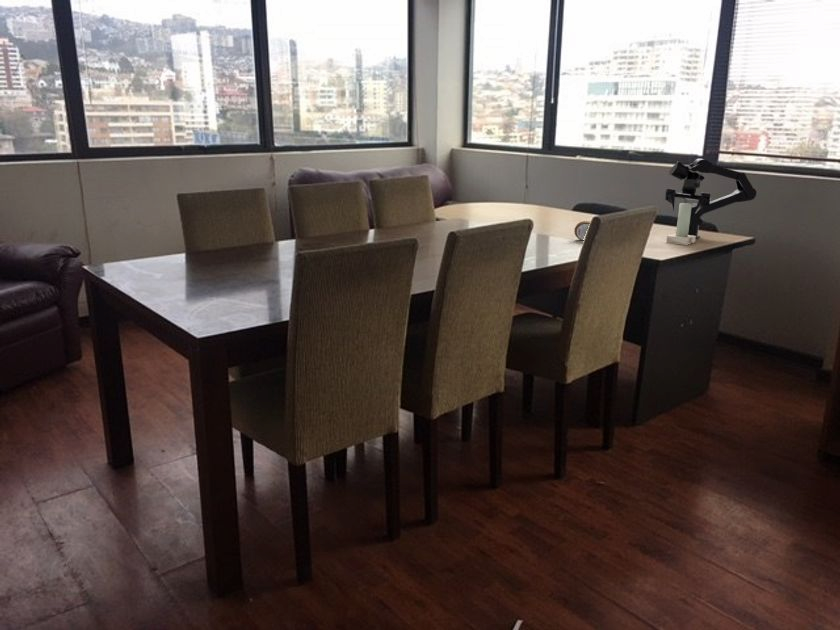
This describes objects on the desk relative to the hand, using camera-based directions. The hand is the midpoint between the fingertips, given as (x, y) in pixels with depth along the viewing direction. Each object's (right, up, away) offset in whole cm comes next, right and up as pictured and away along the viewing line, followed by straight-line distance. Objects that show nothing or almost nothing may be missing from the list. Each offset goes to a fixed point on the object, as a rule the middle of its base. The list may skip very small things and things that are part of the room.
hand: (683, 211), depth 302 cm
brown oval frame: (-41, -13, +1) cm, 43 cm away
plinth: (-1, -13, +1) cm, 13 cm away
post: (-1, -11, 0) cm, 11 cm away
